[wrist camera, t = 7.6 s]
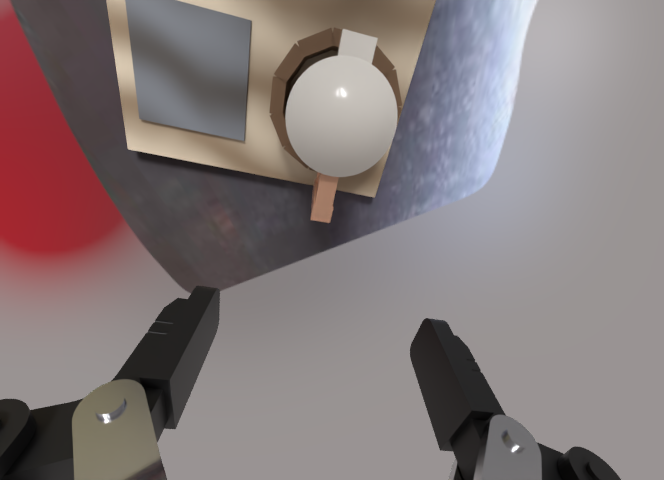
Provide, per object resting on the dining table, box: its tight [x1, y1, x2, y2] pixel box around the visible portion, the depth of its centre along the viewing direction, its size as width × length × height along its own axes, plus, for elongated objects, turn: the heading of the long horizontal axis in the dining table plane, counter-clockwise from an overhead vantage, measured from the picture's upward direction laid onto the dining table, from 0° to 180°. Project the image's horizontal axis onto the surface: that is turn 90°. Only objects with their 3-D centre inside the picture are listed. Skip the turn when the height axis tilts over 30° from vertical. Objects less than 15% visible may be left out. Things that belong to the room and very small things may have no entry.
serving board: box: [106, 0, 436, 198], centre depth 22 cm, size 17×24×5 cm
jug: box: [285, 29, 397, 223], centre depth 21 cm, size 11×6×10 cm, turn 168°
